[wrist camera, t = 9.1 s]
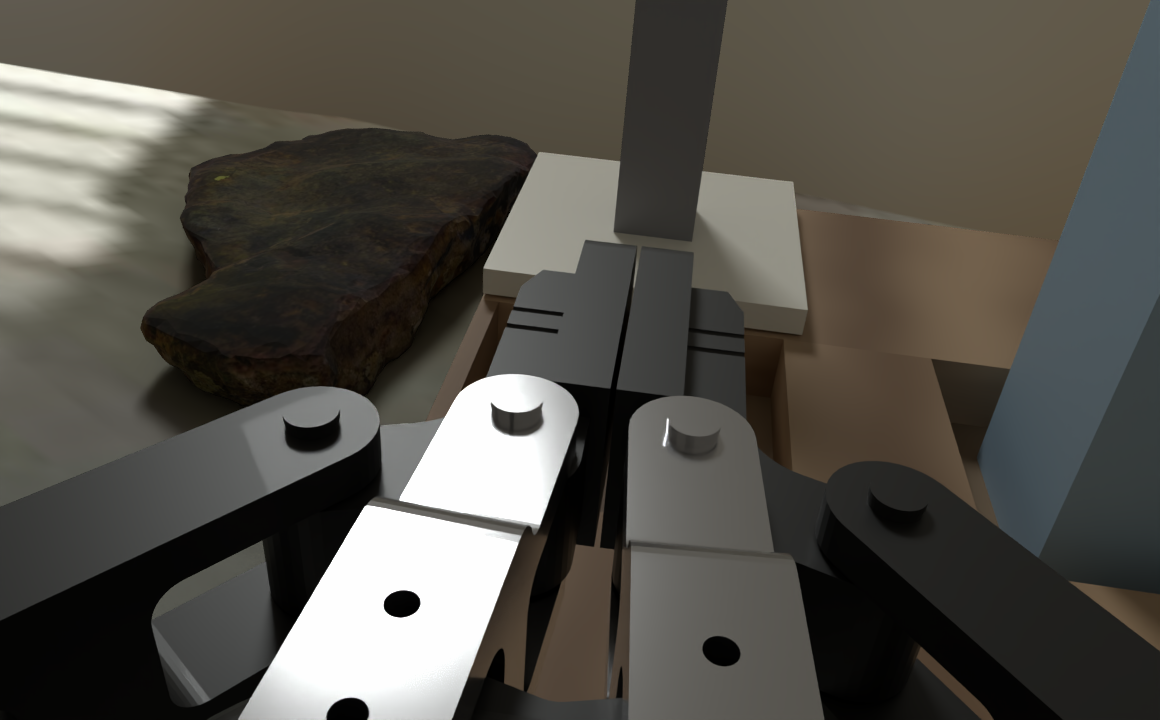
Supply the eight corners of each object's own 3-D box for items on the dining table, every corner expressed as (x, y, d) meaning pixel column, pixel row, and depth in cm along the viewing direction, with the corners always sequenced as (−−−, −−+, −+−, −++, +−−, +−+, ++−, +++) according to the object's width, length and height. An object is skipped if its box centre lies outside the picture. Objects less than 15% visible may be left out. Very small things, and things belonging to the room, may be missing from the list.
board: (301, 809, 17) (287, 720, 16) (534, 240, 36) (537, 177, 35) (1573, 1032, 15) (1683, 956, 14) (1113, 312, 34) (1140, 250, 33)
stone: (325, 446, 26) (318, 352, 24) (-22, 349, 28) (-49, 259, 27) (550, 206, 40) (554, 138, 39) (307, 156, 43) (302, 91, 41)
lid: (482, 293, 27) (488, -82, 22) (538, 173, 35) (552, -129, 29) (801, 335, 27) (889, -42, 21) (788, 203, 34) (850, -101, 29)
